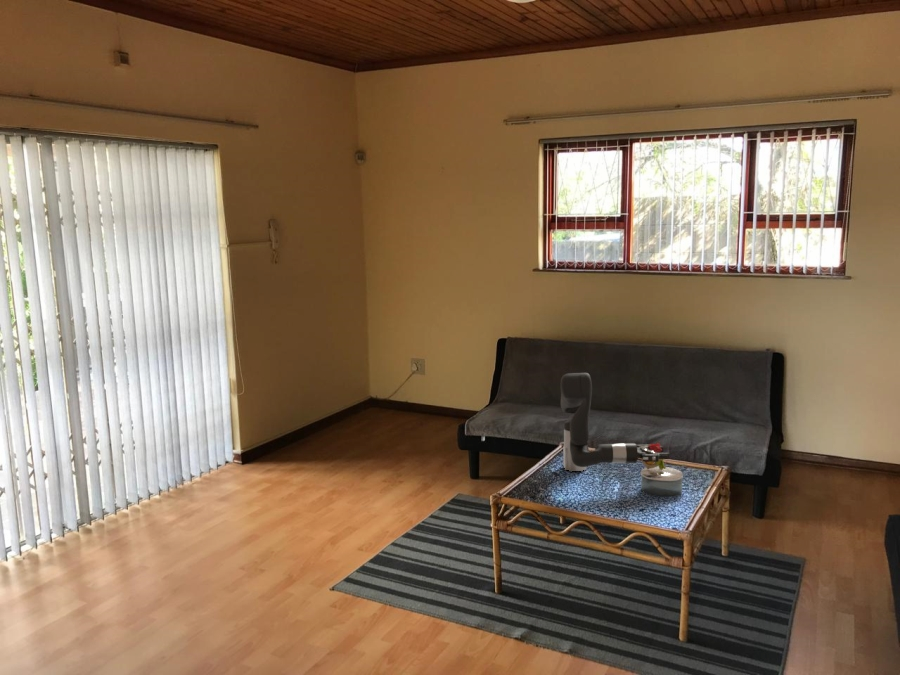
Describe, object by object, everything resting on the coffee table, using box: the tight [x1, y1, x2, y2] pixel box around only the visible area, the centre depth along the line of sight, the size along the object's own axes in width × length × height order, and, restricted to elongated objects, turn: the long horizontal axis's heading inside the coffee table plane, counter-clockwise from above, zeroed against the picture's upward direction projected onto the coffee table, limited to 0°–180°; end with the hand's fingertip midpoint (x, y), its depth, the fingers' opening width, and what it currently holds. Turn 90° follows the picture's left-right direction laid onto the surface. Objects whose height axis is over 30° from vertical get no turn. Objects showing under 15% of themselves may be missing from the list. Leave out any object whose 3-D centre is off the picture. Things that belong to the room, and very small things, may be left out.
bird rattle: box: [641, 442, 667, 470], centre depth 278 cm, size 6×11×9 cm
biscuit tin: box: [640, 466, 684, 498], centre depth 276 cm, size 15×15×7 cm
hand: (666, 452), depth 275 cm, fingers open, 8 cm apart
